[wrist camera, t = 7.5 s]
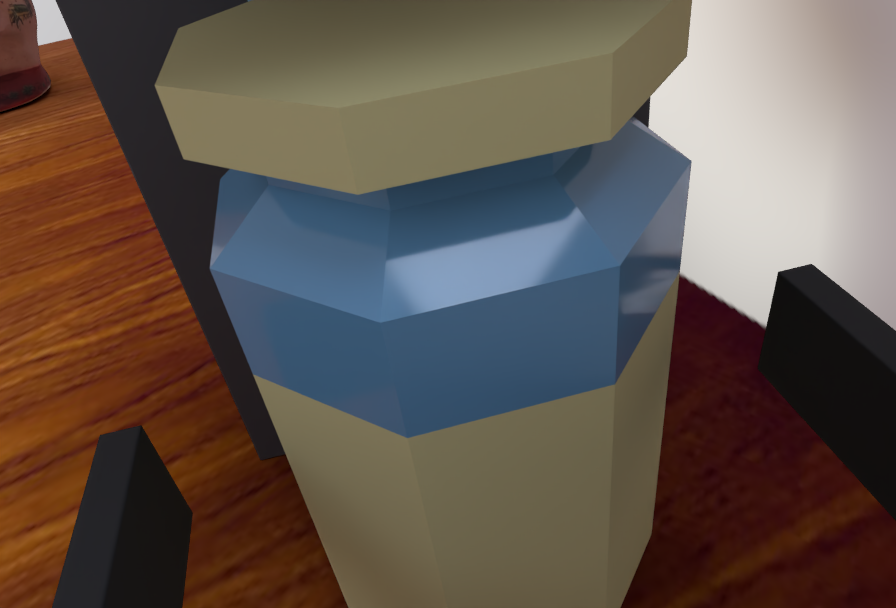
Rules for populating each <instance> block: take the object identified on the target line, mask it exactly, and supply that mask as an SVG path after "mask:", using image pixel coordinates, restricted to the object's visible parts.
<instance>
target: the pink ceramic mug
mask: <svg viewBox="0 0 896 608" xmlns="http://www.w3.org/2000/svg"><path fill="white" fill-rule="evenodd" d="M50 84H51V80H50V77H49V75H48V74H47V72H46V71H45V69H44V68H43V67H42V65H41V63H40V57H39V49H38V43H37V19H36V13H35V9H34V6H33V3H32V0H0V112H1V111H4V110H8V109H11V108H14V107H17V106H19V105H22V104H25V103H28V102H30V101H32V100H34V99H36V98H38V97H39V96H41V95H42V94H43V93H44V92H46V91H47V90H48V89H49V88H50Z"/></svg>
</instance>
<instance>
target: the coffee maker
mask: <svg viewBox="0 0 896 608" xmlns="http://www.w3.org/2000/svg"><path fill="white" fill-rule="evenodd" d="M249 1H251V0H56V2H57V4H58V7H59V9H60V11H61V14H62V16H63V18H64V20H65V23H66V25H67V27H68V29H69V32H70V34H71V36H72V38H73V41H74V43H75V45H76V47H77V50H78V52H79V54H80V56H81V58H82V61H83V63H84V65H85V67H86V70H87V72H88V74H89V76H90V79H91V81H92V83H93V85H94V88H95V90H96V92H97V94H98V97H99V99H100V101H101V103H102V106H103V108H104V110H105V112H106V115H107V117H108V119H109V121H110V124H111V126H112V128H113V130H114V133H115V135H116V137H117V139H118V141H119V144H120V146H121V148H122V150H123V153H124V155H125V157H126V159H127V162H128V164H129V166H130V168H131V171H132V173H133V175H134V177H135V180H136V182H137V184H138V186H139V189H140V191H141V193H142V195H143V198H144V200H145V202H146V204H147V207H148V209H149V211H150V213H151V216H152V218H153V220H154V222H155V225H156V227H157V229H158V231H159V233H160V236H161V238H162V240H163V242H164V245H165V247H166V249H167V251H168V254H169V256H170V258H171V260H172V263H173V265H174V267H175V269H176V272H177V274H178V276H179V278H180V281H181V283H182V285H183V287H184V290H185V292H186V294H187V296H188V299H189V301H190V303H191V305H192V308H193V310H194V312H195V314H196V316H197V319H198V321H199V323H200V325H201V328H202V330H203V332H204V334H205V337H206V339H207V341H208V343H209V346H210V348H211V350H212V352H213V355H214V357H215V359H216V361H217V364H218V366H219V368H220V370H221V373H222V375H223V377H224V379H225V382H226V384H227V386H228V388H229V391H230V393H231V395H232V397H233V399H234V402H235V404H236V406H237V408H238V411H239V413H240V415H241V417H242V420H243V422H244V424H245V426H246V429H247V431H248V433H249V435H250V438H251V440H252V442H253V444H254V447H255V449H256V451H257V453H258V456H259V458H260V460H264V459H268V458H272V457H276V456H280V455H284V454H285V451H284V449H283V447H282V444H281V442H280V439H279V437H278V434H277V432H276V429H275V427H274V425H273V422H272V420H271V417H270V415H269V412H268V410H267V407H266V405H265V403H264V400H263V398H262V395H261V393H260V390H259V388H258V385H257V383H256V381H255V378H254V376H253V373H252V371H251V368H250V366H249V363H248V361H247V359H246V356H245V354H244V351H243V349H242V346H241V344H240V341H239V339H238V337H237V334H236V332H235V329H234V327H233V324H232V322H231V319H230V317H229V315H228V312H227V310H226V307H225V305H224V302H223V300H222V297H221V295H220V293H219V290H218V288H217V285H216V283H215V280H214V278H213V275H212V273H211V271H210V262H211V253H212V245H213V236H214V228H215V219H216V211H217V202H218V194H219V185H220V179H221V178H222V177H223V176H224V175H225V174H226V172H227V171H228V170H229V168H224V167H219V166H214V165H209V164H205V163H200V162H195V161H190V160H185V159H183V157H182V154H181V151H180V149H179V146H178V144H177V141H176V139H175V136H174V134H173V131H172V128H171V126H170V123H169V121H168V118H167V116H166V113H165V111H164V108H163V105H162V103H161V100H160V98H159V95H158V93H157V90H156V88H155V83H156V81H157V78H158V76H159V74H160V71H161V69H162V66H163V64H164V62H165V59H166V57H167V54H168V52H169V50H170V47H171V45H172V42H173V40H174V38H175V35H176V33H177V30H178V28H180V27H183V26H186V25H188V24H191V23H194V22H196V21H199V20H201V19H204V18H207V17H209V16H212V15H215V14H217V13H220V12H222V11H225V10H228V9H230V8H233V7H236V6H238V5H241V4H244V3H246V2H249ZM649 107H650V97H649V98H648V99H647V100H646V102H645V103H644V104H643V105H642V106H641V107H640V108H639V109H638V110H637V111H636V113H635V114H634V115H633V117H635V118H636V119H637V120H639V121H640V122H641V123H643V124H644V125H645V126H646V127H648V125H649V109H650V108H649Z"/></svg>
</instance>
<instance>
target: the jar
mask: <svg viewBox="0 0 896 608" xmlns="http://www.w3.org/2000/svg"><path fill="white" fill-rule="evenodd" d="M691 5H692V0H251V1H249V2H246V3H244V4H241V5H238V6H236V7H233V8H230V9H228V10H225V11H222V12H220V13H217V14H215V15H212V16H209V17H207V18H204V19H201V20H199V21H196V22H194V23H191V24H188V25H186V26H183V27H180V28H178V30H177V33H176V35H175V38H174V40H173V42H172V45H171V47H170V50H169V52H168V54H167V57H166V59H165V62H164V64H163V66H162V69H161V71H160V74H159V76H158V78H157V81H156V83H155V88H156V90H157V93H158V95H159V98H160V100H161V103H162V105H163V108H164V111H165V113H166V116H167V118H168V121H169V123H170V126H171V128H172V131H173V134H174V136H175V139H176V141H177V144H178V146H179V149H180V151H181V154H182V157H183V159H185V160H190V161H195V162H200V163H205V164H209V165H214V166H219V167H224V168H229V170H228V171H227V172H226V174H225V175H224V176H223V177H222V178H221V179H220V185H219V194H218V202H217V211H216V219H215V228H214V236H213V245H212V253H211V262H210V271H211V273H212V275H213V278H214V280H215V283H216V285H217V288H218V290H219V293H220V295H221V297H222V300H223V302H224V305H225V307H226V310H227V312H228V315H229V317H230V319H231V322H232V324H233V327H234V329H235V332H236V334H237V337H238V339H239V341H240V344H241V346H242V349H243V351H244V354H245V356H246V359H247V361H248V363H249V366H250V368H251V371H252V373H253V376H254V378H255V381H256V383H257V385H258V388H259V390H260V393H261V395H262V398H263V400H264V403H265V405H266V407H267V410H268V412H269V415H270V417H271V420H272V422H273V425H274V427H275V429H276V432H277V434H278V437H279V439H280V442H281V444H282V447H283V449H284V451H285V454H286V456H287V459H288V461H289V464H290V466H291V469H292V471H293V473H294V476H295V478H296V481H297V483H298V486H299V488H300V490H301V493H302V495H303V498H304V500H305V503H306V505H307V508H308V510H309V512H310V515H311V517H312V520H313V522H314V525H315V527H316V530H317V532H318V534H319V537H320V539H321V542H322V544H323V547H324V549H325V552H326V554H327V556H328V559H329V561H330V564H331V566H332V569H333V571H334V574H335V576H336V578H337V581H338V583H339V586H340V588H341V591H342V593H343V596H344V598H345V600H346V603H347V605H348V608H621V605H622V603H623V600H624V598H625V596H626V593H627V591H628V589H629V586H630V584H631V581H632V579H633V577H634V574H635V572H636V570H637V567H638V565H639V562H640V560H641V558H642V555H643V553H644V551H645V548H646V546H647V543H648V541H649V539H650V536H651V534H652V524H653V515H654V506H655V496H656V487H657V478H658V468H659V459H660V450H661V440H662V431H663V422H664V413H665V403H666V394H667V385H668V375H669V366H670V357H671V347H672V338H673V329H674V319H675V310H676V301H677V292H678V282H679V273H680V264H681V254H682V245H683V236H684V225H685V217H686V207H687V198H688V189H689V180H690V171H691V160H689V159H688V158H687V157H685V156H684V155H683V154H682V153H680V152H679V151H677V150H676V149H675V148H674V147H672V146H671V145H670V144H668V143H667V142H666V141H665V140H663V139H662V138H661V137H659V136H658V135H657V134H656V133H654V132H653V131H652V130H650V129H649V128H648V127H646V126H645V125H644V124H643V123H641V122H640V121H639V120H637V119H636V118H635V117H633V115H634V114H635V113H636V111H637V110H638V109H639V108H640V107H641V106H642V105H643V104H644V103H645V102H646V100H647V99H648V98H649V97H650V96H651V95H652V94H653V93H654V92H655V91H656V89H657V88H658V87H659V86H660V85H661V84H662V83H663V82H664V81H665V80H666V78H667V77H668V76H669V75H670V74H671V73H672V72H673V71H674V70H675V69H676V68H677V66H678V65H679V64H680V63H681V62H682V61H683V60H684V59H685V58H686V56H687V48H688V37H689V27H690V16H691Z"/></svg>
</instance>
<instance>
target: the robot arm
mask: <svg viewBox="0 0 896 608" xmlns="http://www.w3.org/2000/svg"><path fill="white" fill-rule="evenodd" d="M758 370H759V371H760V372H761V373H762V374H763V375H764V376H765V377H766V378H767V380H768V381H769V382H770V383H771V384H772V385H773V386H774V387H775V388H776V389H777V391H778V392H779V393H780V394H781V395H782V396H783V397H784V398H785V399H786V400H787V402H788V403H789V404H790V405H791V406H792V407H793V408H794V409H795V410H796V411H797V413H798V414H799V415H800V416H801V417H802V418H803V419H804V420H805V421H806V422H807V424H808V425H809V426H810V427H811V428H812V429H813V430H814V431H815V432H816V433H817V435H818V436H819V437H820V438H821V439H822V440H823V441H824V442H825V443H826V444H827V446H828V447H829V448H830V449H831V450H832V451H833V452H834V453H835V454H836V455H837V457H838V458H839V459H840V460H841V461H842V462H843V463H844V464H845V465H846V466H847V468H848V469H849V470H850V471H851V472H852V473H853V474H854V475H855V476H856V477H857V479H858V480H859V481H860V482H861V483H862V484H863V485H864V486H865V487H866V488H867V490H868V491H869V492H870V493H871V494H872V495H873V496H874V497H875V498H876V499H877V501H878V502H879V503H880V504H881V505H882V506H883V507H884V508H885V509H886V510H887V512H888V513H889V514H890V515H891V516H892V517H893V518H894V519H895V520H896V331H895V330H894V329H893V328H891V327H890V326H889V325H888V324H886V323H885V322H884V321H882V320H881V319H880V318H879V317H878V316H876V315H875V314H874V313H873V312H871V311H870V310H869V309H867V308H866V307H865V306H864V305H863V304H861V303H860V302H858V300H856V299H855V298H854V297H853V296H851V295H850V294H849V293H848V292H846V291H845V290H844V289H842V288H841V287H840V286H839V285H837V284H836V283H835V282H834V281H832V280H831V279H830V278H829V277H827V276H826V275H825V274H824V273H822V272H821V271H820V270H819V269H817V268H816V267H815V266H814V265H812V264H809V265H805V266H801V267H797V268H793V269H789V270H784V271H780V272H778V276H777V281H776V285H775V290H774V294H773V299H772V304H771V309H770V313H769V317H768V322H767V327H766V331H765V336H764V341H763V345H762V350H761V355H760V359H759V364H758ZM192 515H193V513H192V511H191V509H190V508H189V506H188V504H187V503H186V501H185V499H184V497H183V496H182V494H181V492H180V491H179V489H178V487H177V486H176V484H175V482H174V480H173V479H172V477H171V475H170V474H169V472H168V470H167V468H166V467H165V465H164V463H163V462H162V460H161V458H160V456H159V455H158V453H157V451H156V450H155V448H154V446H153V444H152V443H151V441H150V439H149V438H148V436H147V434H146V432H145V431H144V429H143V427H142V426H141V425H140V426H136V427H132V428H128V429H124V430H120V431H116V432H111V433H107V434H103V435H100V437H99V440H98V444H97V448H96V451H95V455H94V458H93V462H92V466H91V469H90V473H89V476H88V480H87V483H86V487H85V491H84V494H83V498H82V501H81V505H80V509H79V512H78V516H77V519H76V523H75V527H74V530H73V534H72V537H71V541H70V545H69V548H68V552H67V555H66V559H65V563H64V566H63V570H62V573H61V577H60V581H59V584H58V588H57V591H56V595H55V599H54V602H53V606H52V608H182V605H183V596H184V587H185V578H186V569H187V560H188V551H189V542H190V533H191V524H192Z"/></svg>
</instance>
